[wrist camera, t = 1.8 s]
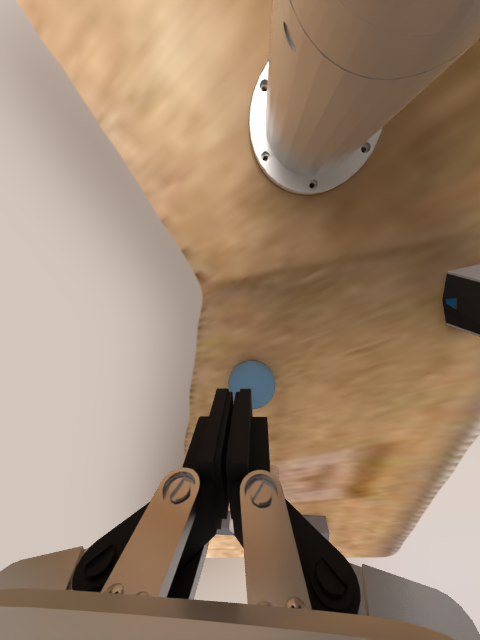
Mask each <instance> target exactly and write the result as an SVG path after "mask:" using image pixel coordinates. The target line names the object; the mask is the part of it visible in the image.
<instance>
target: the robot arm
mask: <svg viewBox="0 0 480 640" xmlns="http://www.w3.org/2000/svg"><path fill="white" fill-rule="evenodd" d="M479 39H480V0H273V4H272V20H271V36H270V52H269V60H268V62H267V63H266V65H265V67H264V68H263V70H262V72H261V74H260V76H259V77H258V80H257V83H256V86H255V88H254V91H253V95H252V100H251V105H250V112H249V132H250V140H251V145H252V150H253V152H254V155H255V157H256V160H257V162H258V164H259V166H260V167H261V169H262V171H263V172H264V173H265V175H266V176H267V177H268V178H269V179H270V180H271V181H272V182H273V183H275V184H276V185H277V186H279V187H280V188H282V189H284V190H287V191H289V192H291V193H296V194H301V195H314V194H318V193H323V192H326V191H328V190H331V189H333V188H335V187H337V186H339V185H340V184H342V183H344V182H345V181H346V180H348V179H349V178H350V177H351V176H353V175H354V174H355V173H356V172H357V171H358V170H359V169H360V168H361V167H362V165H363V164H364V163H365V162H366V161H367V159H368V158H369V156H370V155H371V153H372V152H373V150H374V148H375V146H376V144H377V142H378V139H379V137H380V135H381V132H382V128H383V126H384V125H385V124H387V123H388V122H389V121H390V120H391V119H392V118H393V117H394V116H395V115H397V114H398V113H399V112H400V111H401V110H402V109H403V108H404V107H405V106H406V105H408V104H409V103H410V102H411V101H412V100H413V99H414V98H415V97H416V96H417V95H419V94H420V93H421V92H422V91H423V90H424V89H425V88H426V87H427V86H428V85H430V84H431V83H432V82H433V81H434V80H435V79H436V78H437V77H438V76H439V75H441V74H442V73H443V72H444V71H445V70H446V69H447V68H448V67H449V66H450V65H452V64H453V63H454V62H455V61H456V60H457V59H458V58H459V57H460V56H462V55H463V54H464V53H465V52H466V51H467V50H468V49H469V48H470V47H471V46H473V45H474V44H475V43H476V42H477V41H478V40H479ZM262 89H266V90H267V91H265V92H263V91H262ZM361 148H363V149H364V153H363V152H362V151H361ZM264 157H267V158H268V160H267V161H263V158H264ZM310 184H313V185H314V187H313V188H310V187H309V185H310ZM229 503H230V513H231V519H233V528H234V535H235V537H236V538H237V540H238V541H239V542H240V544H241V545H242V547H243V548H244V558H245V572H246V586H247V600H248V604H240V603H228V602H215V601H203V600H194V596H195V593H196V589H197V586H198V582H199V578H200V575H201V571H202V568H203V564H204V560H205V557H206V554H207V550H208V544H209V541H210V540H211V539H212V538H213V537H214V536H215V535H216V532H217V529H221V525H222V519H227V516H228V507H229ZM0 640H480V634H479V632H478V631H477V629H476V627H475V625H474V623H473V621H472V620H471V619H470V617H469V616H468V615H467V614H466V612H465V611H464V610H463V608H462V607H461V606H459V604H457V603H456V602H455V601H454V600H453V599H452V598H451V597H449V596H448V595H446V594H444V593H442V592H440V591H439V590H437V589H434V588H430V587H428V586H425V585H422V584H419V583H416V582H413V581H410V580H408V579H405V578H402V577H399V576H396V575H393V574H390V573H387V572H385V571H382V570H379V569H376V568H373V567H370V566H367V565H364V564H362V567H359V566H357V565H354V564H351V563H349V562H348V561H347V560H346V558H345V557H344V556H343V555H342V554H341V553H340V552H339V551H338V550H337V549H336V548H335V547H334V546H333V545H332V544H331V543H330V542H329V541H328V540H327V539H326V538H325V537H324V536H323V535H322V534H321V533H320V532H319V531H318V530H317V529H316V528H315V527H313V526H312V525H311V524H310V523H309V522H308V521H307V520H306V519H305V518H304V517H303V516H302V515H301V514H300V513H299V512H298V511H297V510H296V509H295V508H294V507H293V506H292V505H291V504H290V503H289V502H288V501H287V500H286V499H285V498H284V494H283V490H282V486H281V484H280V481H279V480H278V479H277V478H276V476H275V475H273V474H272V473H270V460H269V441H268V423H267V417H252V397H251V389H240V392H236V393H235V400H234V404H233V392H229V390H228V389H217V390H216V394H215V397H214V401H213V405H212V408H211V412H210V415H209V417H204V416H200V417H199V419H198V422H197V425H196V428H195V431H194V434H193V437H192V440H191V443H190V446H189V449H188V452H187V455H186V458H185V461H184V464H183V467H182V468H179V469H176V470H174V471H172V472H170V473H169V474H168V475H167V476H165V478H164V479H163V480H162V482H161V483H160V485H159V487H158V489H157V491H156V492H155V494H154V496H153V498H152V499H151V501H150V502H149V503H148V504H146V505H145V506H144V507H142V508H141V509H140V510H138V511H137V512H136V513H134V514H133V515H131V516H130V517H129V518H127V519H126V520H125V521H123V522H122V523H121V524H119V525H118V526H117V527H115V528H114V529H112V530H111V531H110V532H108V533H107V534H106V535H104V536H103V537H102V538H100V539H99V540H97V541H96V542H95V543H94V544H93V545H92V546H91V547H90V548H88V549H83V546H81V547H77V548H72V549H67V550H63V551H59V552H54V553H50V554H46V555H41V556H37V557H33V558H28V559H24V560H20V561H18V562H15V563H13V564H11V565H9V566H8V567H6V568H5V569H3V570H2V571H1V572H0Z"/></svg>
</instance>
